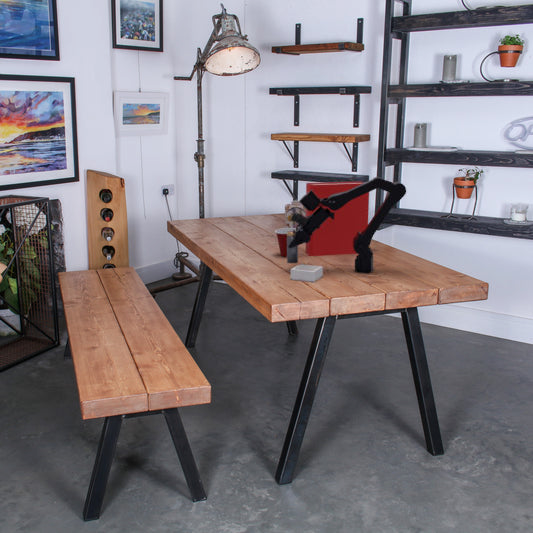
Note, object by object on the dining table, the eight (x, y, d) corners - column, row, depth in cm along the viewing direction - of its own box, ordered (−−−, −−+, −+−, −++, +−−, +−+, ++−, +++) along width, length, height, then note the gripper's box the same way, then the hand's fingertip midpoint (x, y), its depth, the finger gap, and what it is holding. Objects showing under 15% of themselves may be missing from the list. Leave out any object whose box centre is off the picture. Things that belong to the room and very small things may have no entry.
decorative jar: (307, 237, 320) (307, 202, 315) (284, 237, 320) (284, 202, 315) (306, 232, 331) (306, 199, 327) (284, 232, 331) (284, 199, 327)
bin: (322, 276, 242) (322, 266, 241) (313, 282, 234) (313, 272, 233) (300, 273, 246) (300, 264, 245) (290, 279, 238) (290, 269, 237)
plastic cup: (271, 254, 281) (271, 228, 278) (293, 252, 284) (293, 226, 282) (280, 259, 271) (280, 232, 268) (302, 257, 275) (302, 230, 272)
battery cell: (299, 261, 252) (299, 229, 249) (295, 263, 248) (295, 231, 245) (289, 260, 254) (289, 228, 251) (285, 262, 250) (285, 230, 247)
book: (360, 249, 290) (362, 181, 282) (367, 253, 282) (369, 183, 274) (304, 252, 284) (305, 182, 276) (309, 256, 276) (310, 184, 269)
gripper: (302, 201, 254) (276, 228, 258) (302, 208, 236) (273, 236, 240) (321, 220, 256) (295, 246, 259) (322, 229, 238) (293, 256, 241)
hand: (289, 246), depth 250 cm, fingers closed on battery cell, 4 cm apart
